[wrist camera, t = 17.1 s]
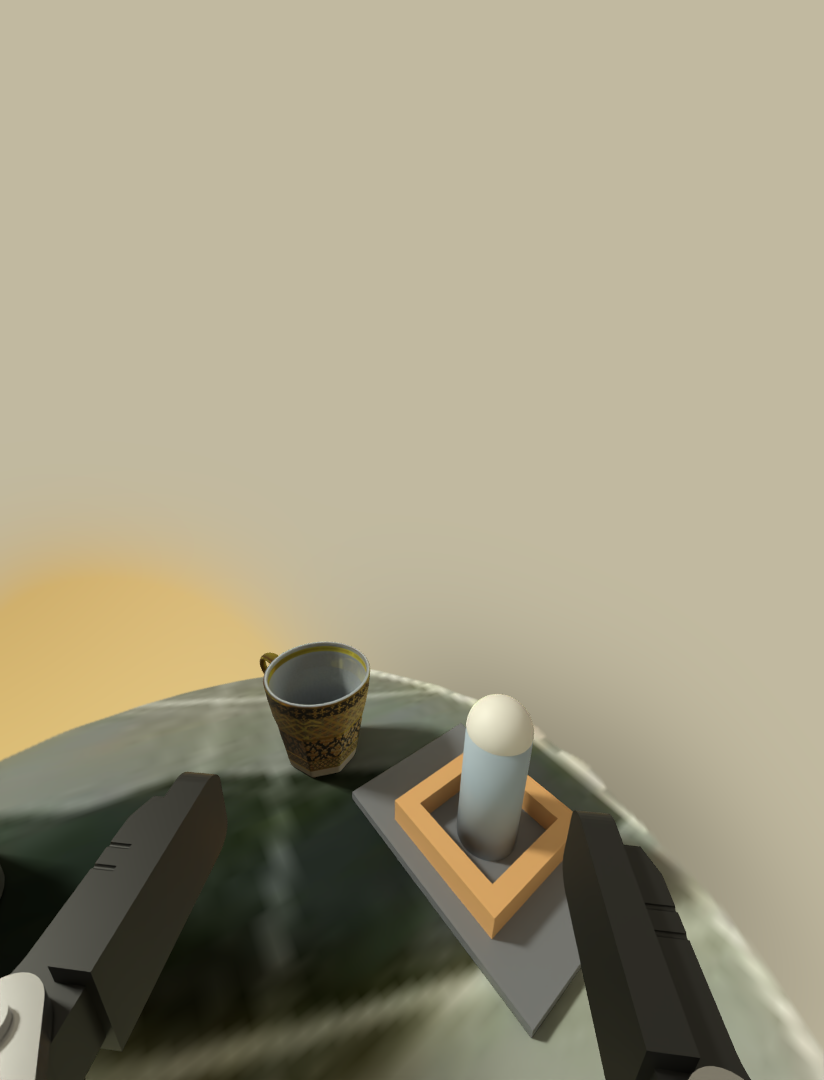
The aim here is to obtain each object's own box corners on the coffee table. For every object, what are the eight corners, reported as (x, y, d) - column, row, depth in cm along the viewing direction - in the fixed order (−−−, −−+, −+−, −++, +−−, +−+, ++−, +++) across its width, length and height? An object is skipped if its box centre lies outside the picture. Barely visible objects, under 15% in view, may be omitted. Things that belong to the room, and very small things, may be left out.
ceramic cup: (389, 738, 47) (389, 660, 44) (328, 811, 39) (323, 723, 36) (299, 695, 53) (293, 623, 50) (231, 751, 45) (218, 670, 42)
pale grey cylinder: (444, 826, 37) (454, 698, 32) (483, 792, 40) (498, 671, 35) (489, 875, 34) (509, 740, 29) (528, 834, 37) (552, 706, 32)
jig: (352, 798, 40) (351, 774, 39) (460, 728, 49) (462, 706, 48) (531, 1038, 26) (537, 1009, 25) (641, 880, 34) (649, 854, 33)
